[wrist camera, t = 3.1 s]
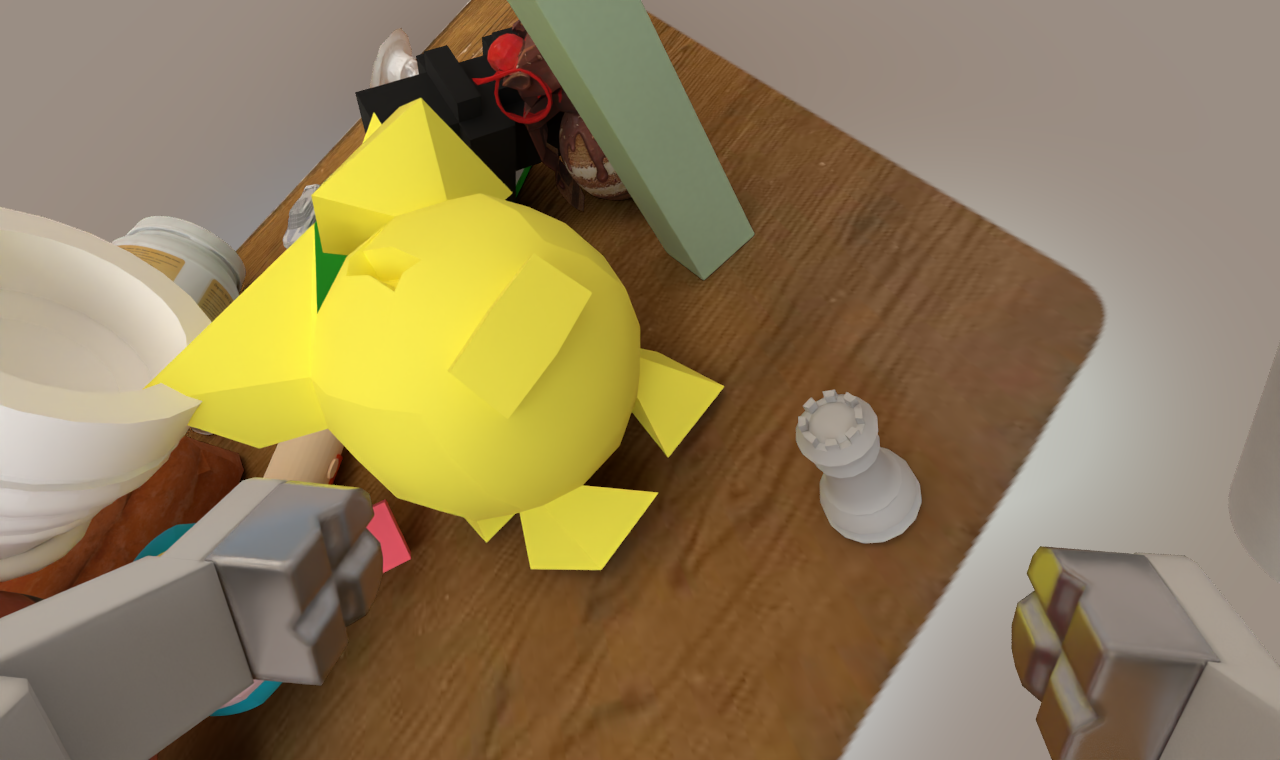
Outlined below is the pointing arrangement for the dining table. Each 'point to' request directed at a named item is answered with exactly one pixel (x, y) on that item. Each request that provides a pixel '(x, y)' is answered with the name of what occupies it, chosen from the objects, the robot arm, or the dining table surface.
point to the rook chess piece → (857, 469)
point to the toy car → (300, 216)
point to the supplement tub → (189, 260)
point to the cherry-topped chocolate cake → (543, 102)
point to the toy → (466, 108)
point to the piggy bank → (448, 349)
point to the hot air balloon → (393, 556)
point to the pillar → (641, 123)
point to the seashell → (394, 60)
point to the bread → (140, 517)
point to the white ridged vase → (80, 382)
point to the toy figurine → (307, 459)
